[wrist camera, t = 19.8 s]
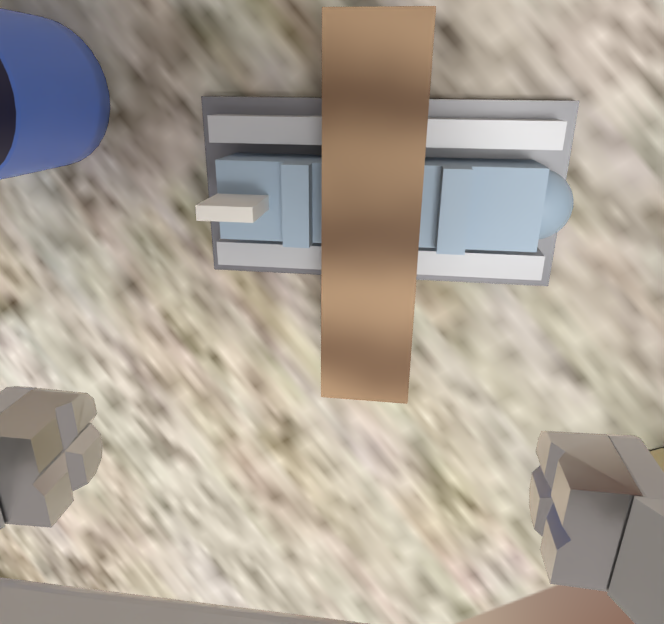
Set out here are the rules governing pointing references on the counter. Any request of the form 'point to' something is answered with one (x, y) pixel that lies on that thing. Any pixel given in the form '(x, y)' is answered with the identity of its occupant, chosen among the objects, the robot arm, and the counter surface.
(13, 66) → the water bottle
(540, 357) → the counter surface
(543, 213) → the pale blue tabbed body
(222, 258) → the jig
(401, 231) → the brown long rectangular bar
